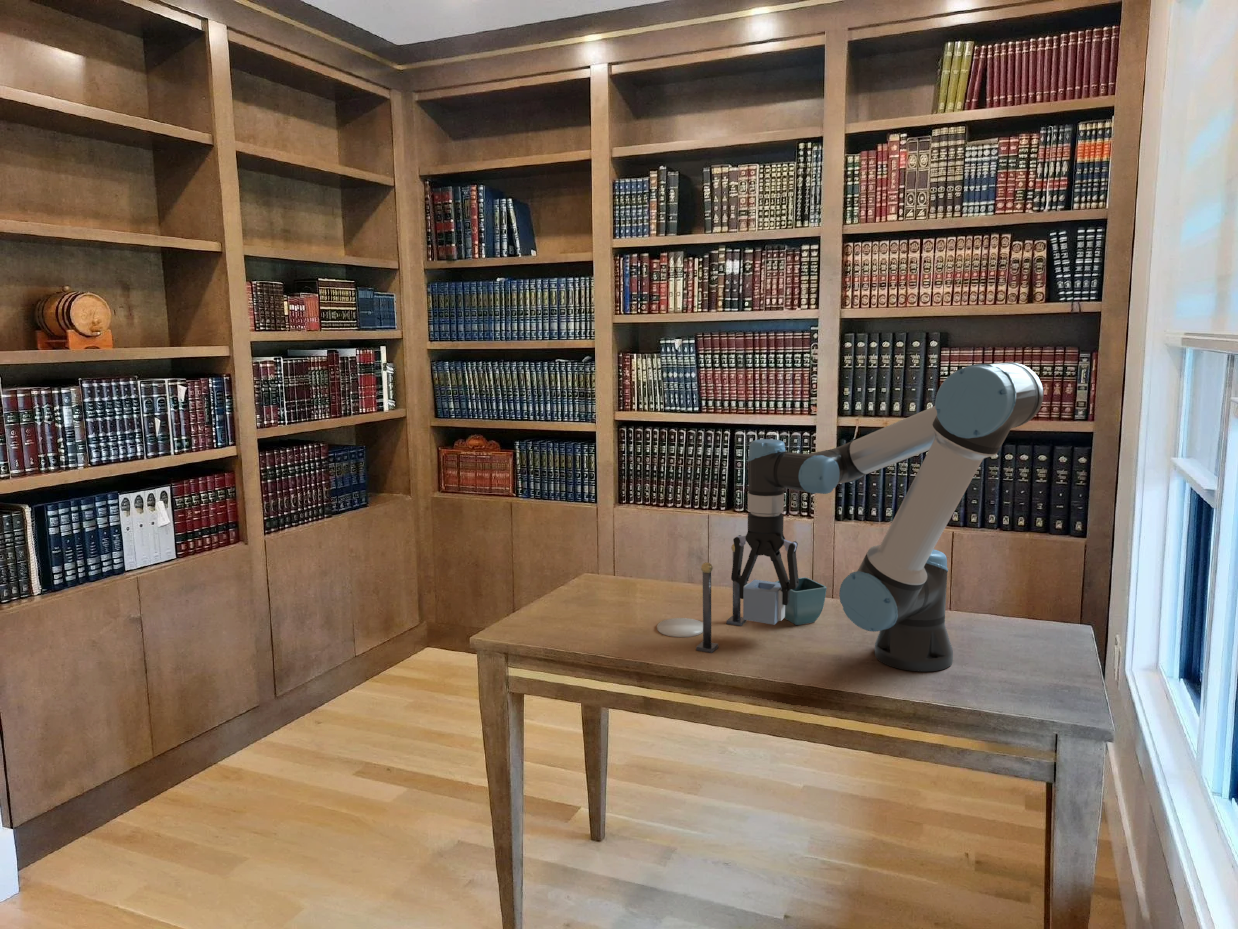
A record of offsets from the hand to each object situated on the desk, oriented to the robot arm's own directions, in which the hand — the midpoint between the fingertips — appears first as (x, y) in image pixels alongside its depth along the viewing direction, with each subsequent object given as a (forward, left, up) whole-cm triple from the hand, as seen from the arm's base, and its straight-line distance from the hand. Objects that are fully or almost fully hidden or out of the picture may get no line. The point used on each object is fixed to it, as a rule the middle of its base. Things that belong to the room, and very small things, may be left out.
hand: (764, 615), depth 184 cm
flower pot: (-3, -16, -6) cm, 17 cm away
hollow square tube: (0, 0, 0) cm, 0 cm away
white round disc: (+20, 0, -6) cm, 20 cm away
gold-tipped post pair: (+10, 0, -6) cm, 11 cm away
